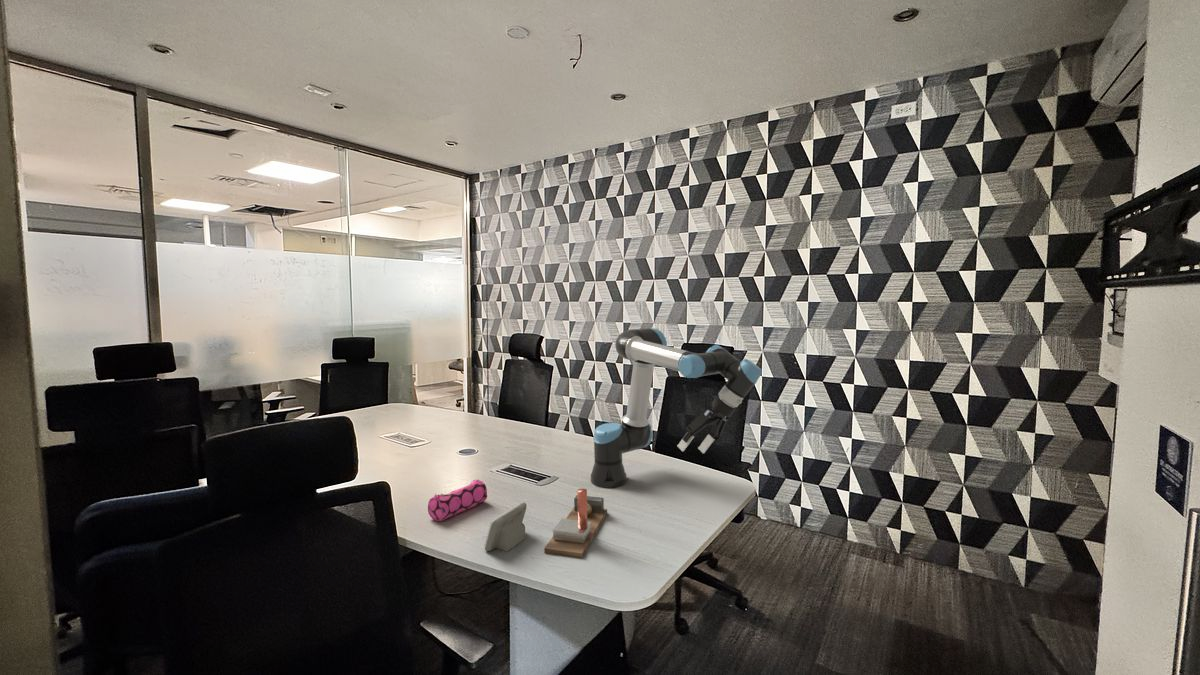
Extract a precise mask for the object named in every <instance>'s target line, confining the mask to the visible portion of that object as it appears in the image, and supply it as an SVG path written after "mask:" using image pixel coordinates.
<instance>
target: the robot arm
mask: <svg viewBox="0 0 1200 675" xmlns="http://www.w3.org/2000/svg"><path fill="white" fill-rule="evenodd" d="M667 343H668V342H667V338H666V337H665V335H664V333H663V332H662V331H661V330H660V329H657V328H654V327H653V328H650V327H647V328H637V329H627V330H625V331H622V332H620V333H619V335H618V336H617V338H616V340H615V346H614V347H615V350H616V353H617V355H618V356H620V357H621V358H622V359H625V360H628V361H632V363H633V366H632V372H631V378H630V388H629V395H628V401H627V408H626V414H624V415H623V416H622V418H621V424H620V423H617V422H610V423H609V422H608V423H607V422H605V423H602V424H600V425H598V426H597V427H596V428H595V429H594V432H593V433H594V434H593V435H594V436H593V441H594V442H593V444H594V447H593V449H594V450H593V453H594V456H593V457H594V464H593V467H592V470H591V474H590V484H592V485H594V486H596V487H599V488H618V487H621V486H623V485H625V484H626V483H627V481H628V479H627V478H628V476H627V473H626V471H625V467H624V463H623V454H626V453H629V452H633V451H636V450H638V451H639V450H641V449H644V448H646V447H648V446H649V445H650V444H651V442H652V440H653V434H654V433H653V432H654V431H653V429H652V425H651V424H650V421H649V419H648V418H647V415H648V408H649V402H650V395H651V388H652V383H653V382H652V381H653V375H654V369H655V366H659V367H662V368H666V369H668V370H673V371H676V372H679V373H680V374H681V375H682V376H683V377H684V378H687V379H692V378H693V379H697V378H700V377H704V376H706V377H707V376H711V375H717V374H720V375H721V376H722V377H724V378H725V379H726V380H727V381H726V383H725V384H724V386H722V388H721V389H720V391H719V392H718V393H717V394H718V395H716V397H715V398H714V399H713V400H712V401H711V407H712V408H711V410H710V409H709V408H705V409H704V410H703V412H701V413H700V415H699V416H697V417H696V418H695V419H694V420H692V422H690V423H689V424H688V425H687V426H686V427H685V430H686V431H687V432H686V433H685V434H684V436H683V437H682V438H681V440H680V441H679V443H678V444H677V445H676V446H677V448H678V449H679V450H680V451H681V452H685V450H687V447H688V446H689V445H690V444H691V442H692V440H693V439H694V438H695V435H696V434H697V433H699V432H701V431H702V430H703V429H705V428H706V427H708V426H709V427H710V426H711V430H710V433H708V434H707V435H706V437H705V438H704V439H703V440H702V442H701V443H700V445H699V446H698V447H697V449H698V450H699V451H700V452H701V453H702V454H705V453H706V452H707V450H708V449H709V448H710V447H711V445H712V444H713V443H714V441H719V440H720V438H721V437H722V434H723V433H724V430H725V428H726V426H727V423H728V422H729V420H730V418H731V416H732V415H733V414H734V412H735V411H736V408H738V406H740V405H741V404H742V403H743V400H744V398H746V396H747V395H748V393H749V392H750V391H751V390H752V388H753V387H754V386H755V384H757V382H758V380H759V379H760V377H761V375H762V374H763V370H762V368H760V367H759V366H758V365H756V364H755V363H754V362H753V361H751V360H749V359H747V358H744V359H742V360H741V361H740V360H739V359H738V358H736V357H735V355H733V354H732V353H730V352H729V351H728V350H727V349H725V348H723V347H722V346H721V345H718V344H714V345H712V346H711V347H709V348H708V349H707V350H706V351H705V352H703V353H702V352H701V353H696V352H693V351H689V350H684V349H680V348H676V347H672V346H668V344H667Z"/></svg>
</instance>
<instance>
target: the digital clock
mask: <svg viewBox="0 0 1200 675" xmlns="http://www.w3.org/2000/svg"><path fill="white" fill-rule="evenodd" d="M526 511H527V503H526V502H525V501H522V502H518V504H515V506H512V507H511V508H510V509H507V510H506V511H504V512H503V513H501V514H499V515H498V516H496V517H495V518H493V519H492V520H491V521H490V525H489V528H488V531H487V535H486V539H485V543H484V550H485V551H486V552H491V551H493V550H494V549H498V548H500V549H499V550H501V549H503V550H502V551H505V550H506V552H509V551H510V550H512V549H513V548H514V547H516V546H517V545H518V544H520V543H521V542H523V541H524V540H526V539H527V538H526V537H527V536H526V525H525V524H524V523H523V520H524V517H525V514H526ZM522 540H523V541H522ZM511 548H512V549H511Z"/></svg>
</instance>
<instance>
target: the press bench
mask: <svg viewBox="0 0 1200 675" xmlns="http://www.w3.org/2000/svg"><path fill="white" fill-rule="evenodd" d="M573 500H574V503H573V505H574V506H573V508H572V510H570V512H569V513H568V515H567V516H566V518H565V519H570V520H578V500H577V495H576V496H575V497H574V498H573ZM604 500H605V499H604V497H599V496H589V495H587V522H591V532H590V534H589V535H588V537H587V539H586V540H585V542H584V543H577V542H569V541H561V540H554V539H553V536H552V537H551V538H550V540H549V541H548V543H547V544H546V546H545V547H544V548H543V549H544V554H550V555H557V556H558V555H559V556H564V557H571V558H578V559H583V557H584V556H585V554H586V552H587V550H588V548H589V547H590V545H591V543H592V542H593V540H594V538H595V537H596V536H595V535H596V534H597V532H598V531H599V529H600V527H601V525H602V523H603V522H604V520H605V518H606V516H607V515H608V508H605V506H604V505H605V502H604Z"/></svg>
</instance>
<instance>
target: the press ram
mask: <svg viewBox="0 0 1200 675" xmlns="http://www.w3.org/2000/svg"><path fill="white" fill-rule="evenodd" d="M576 492H577V494H576V496H577V500H578V520H570V519H566V518H561V519H560V520H559V522H558V523H557V524H556V526H554V528H553V529H552V537H553V539H554V540H561V541H569V542H577V543H584V542H585V540H586V539H587V537H588V535H589V534H590V532H591V522H587V496H588V489H586V488H579V489H577V490H576Z"/></svg>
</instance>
